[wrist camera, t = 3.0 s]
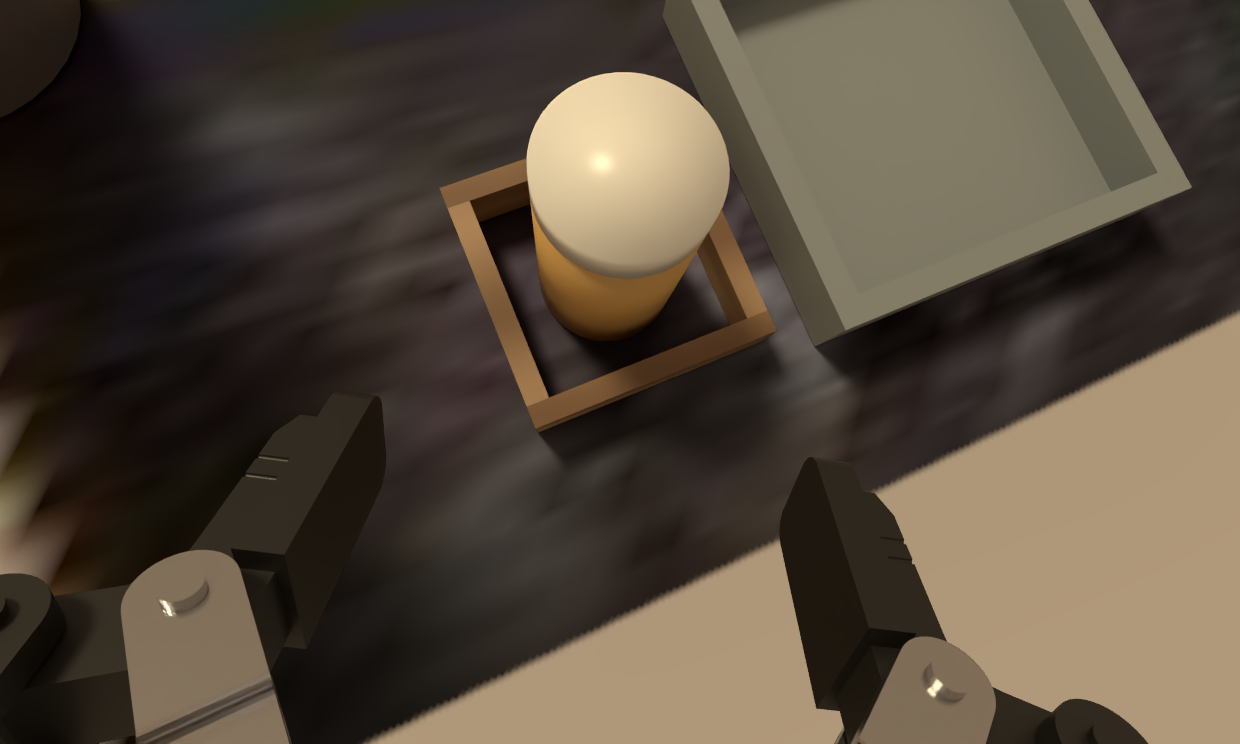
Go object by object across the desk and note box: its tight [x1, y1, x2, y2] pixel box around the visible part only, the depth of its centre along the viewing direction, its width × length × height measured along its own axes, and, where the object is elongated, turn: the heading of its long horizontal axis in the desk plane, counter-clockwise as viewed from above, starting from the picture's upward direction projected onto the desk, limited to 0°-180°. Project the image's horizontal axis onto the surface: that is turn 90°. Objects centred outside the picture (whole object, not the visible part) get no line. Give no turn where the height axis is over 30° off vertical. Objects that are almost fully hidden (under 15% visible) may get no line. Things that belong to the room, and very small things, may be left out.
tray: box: [663, 0, 1192, 346], centre depth 25 cm, size 15×15×3 cm
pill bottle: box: [526, 72, 730, 341], centre depth 20 cm, size 5×5×9 cm
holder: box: [440, 158, 777, 432], centre depth 24 cm, size 9×9×2 cm
